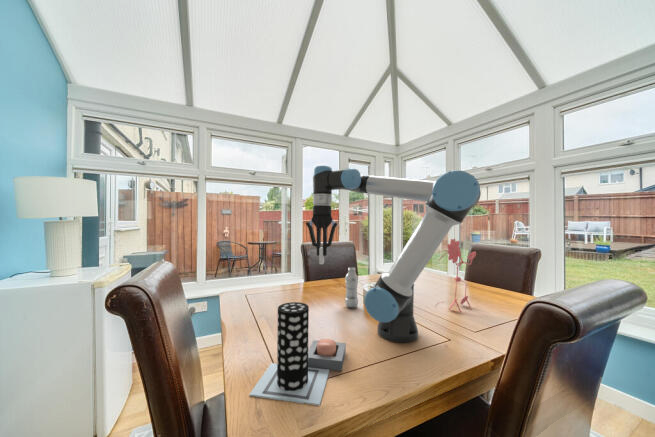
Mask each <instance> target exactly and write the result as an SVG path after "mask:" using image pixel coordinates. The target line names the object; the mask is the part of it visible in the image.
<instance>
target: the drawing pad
mask: <svg viewBox="0 0 655 437" xmlns="http://www.w3.org/2000/svg"><path fill="white" fill-rule="evenodd" d="M330 371H331V370H328V369H319V368H310V367H308V383H307V384H306V386H304V387H303V388H301V389H299V390H296V391H286V390H283V389H281V388H280V387H279V386H278V384H277V363H275V362H271V363H270V364H269V366H268V367H267V369H266V370H265V371H264V372H263V374H262V376H261V377H260V379H259V380H258V381H257V382H256V384H255V386H254V387H253V388H252V390H251V391H250V393H249V397H255V398H263V399H267V400H268V399H269V400H270V399H271V400H276V401H282V400H283V402H290V401H291V402H290V403H299V404H304V403H306V404H305V405H311V404H314V405H313V406H318V405H321V403H322V399H323V395H324V392H325V388H326V386H327V381H328V378H329V374H330Z"/></svg>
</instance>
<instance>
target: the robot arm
mask: <svg viewBox="0 0 655 437" xmlns="http://www.w3.org/2000/svg"><path fill="white" fill-rule="evenodd" d="M312 174H313V175H312V189H313V190H312V191H313V192H312V204H313V206H312V217H311V219H310V220H309V221H307V222H306V223H305V225H306V226H307V228H308V232H309V237H310V241H311V245H312V246H313V247H315V248H316V256H318V257H319V258H318V264H319V265H324V264H325V256H327V255H328V252H327V251H328V250H327V249H328V248H329V247H331V246H332V243H333V239H334V235H335V231H336V229H337V227H338V225H339V223H338V222H336V221H334V220H333V216H332V206H331V205H332V198H333V197H332V195H333V194H332V193H333V191H335V190H336V191H337V190H345V191H350V192H355V193H358V194H369V195H374V196H375V195H376V196H384V197H390V198H391V197H392V198H398V199H404V200H405V199H406V200H411V201H420V202H425V204H424V207H425V209H426V212H425V213H424V215H423V216H422V218H421V220H420V222H419V223H418V225H417V226H416V227H415V230H414V231H413V232H412V234H411V236H410V237H409V239H408V241H407V242H406V244H405V245H404V246H403V249H402V250H401V252H400V253H399V255H398V256H397V258H396V259H395V261H394V262H393V265H392V266H391V267H390V269H389V271H386V272H385V271H384V272H382V273H381V275H380V276H379V277H378V279H377V281H376V282H375V284H374V286H372V287H371V288H369V289H368V290H367V292H366V293H365V295H364V300H363V301H364V306H365V311H366V312H367V314H368V315H369V316H370V317H371V318H372V319H374V320H375V321H377V322H378V324H377V334H378V335H379V336H380V337H381V338H383V339H385V340H388V341H391V342H395V343H403V344H404V343H412V342H415V341H416V340H417V339H418V338H419V329H418V327H417V322H416V320H415V317H414V298H415V296H414V295H415V294H414V289H415V287H414V286H415V282H416V281H417V280H418V278H419V276H420V275H421V274H422V272H423V270H424V269H425V268H426V266H427V264H428V263H429V262H430V260H431V258H432V257H433V256H434V255H435V254H436V251H437V250H438V248H439V247H440V245H441V244H442V242H443V241H444V239H445V238H446V237H447V235H448V233H449V232H450V230H451V229H452V227H453V226H456V225H461V224H462V222H463V221H464V219H465V218H466V217H467V216H468V214H469V213H470V211H471V210H472V209H473V208H475V206H476V205H477V204H478V203H479V201H480V199H481V194H482V193H481V192H482V191H481V187H480V183H479V181H478V179H477V178H476V177H475V175H472V174H471V173H469V172H467V171H464V170H459V169H458V170H456V169H455V170H449V171H447V172H444V173H442V174H441V175H440V176H439V177H438V178H436V180H435V181H433V180H423V179H412V178H411V179H410V178H399V177H390V176H380V175H379V176H378V175H371V174H370V175H369V174H361V172H360V171H359V169H358V168H350V167H349V168H348V167H347V168H344V169H336V170H333V168H332V167H331V166H330V165H317V166H314V168H313V173H312ZM313 225H314V226H315V227H316V236H315V232H314V227H313ZM330 225H331V229H330V233H329V237H328V227H329V226H330ZM321 234H322V235H321ZM321 239H322V240H321ZM321 241H322V242H321Z"/></svg>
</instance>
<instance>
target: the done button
mask: <svg viewBox="0 0 655 437" xmlns="http://www.w3.org/2000/svg"><path fill="white" fill-rule="evenodd" d="M336 342H337V341H335V340H333V339H330V338H323V339H320V340H319V341H318V342H317V355H324V356H333V357H336Z"/></svg>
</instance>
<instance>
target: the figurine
mask: <svg viewBox="0 0 655 437" xmlns="http://www.w3.org/2000/svg"><path fill="white" fill-rule="evenodd" d="M460 244H461V243H460V241H459V240H456V238H451V239H450V243H447V245H446V247H447V251H446V252H445V253H444V254H442V256H441V257H440V258H439V259H438V261H440V260H442V258H443V257H445V255H447V254H448V257H447V259H448V261H450V260H451V261H452V264H455V265H456V276H455V278H454V281H455V293H454V300H453V302H452V303H451V305H450V307H449V308H448V310H451V309H452V308H453V306H454V305H455V304H456V307H457V308H458V310H459V313H460V312H461V313H462V310H461V309H460V306H459V304H460V305H461V306H462V305H463V304H464V303H467V305H468V307H469V309H470V308H471V309H472V307H471V304H470V302H469V301H468V299H469V296H468V295H467V285H468V284H467V282H466V281H463V280H462V278H461V277H460V276H458V274H459V273H458V272H459V267H460V266H461V265H462V264H466V265H469V266H471V265H472V263H473V260H474V259H475V258H476V256H477V252H476V250H475V251H472V252H470V253H469V254H468V256H467V259H468V261H470V262H469V263H468V262H465V261H463V260H464V259H463V258H462V252H461V247H460ZM459 259H460V260H461V261H460V262H458V260H459ZM459 282H462V283H464V284H465V294H464V297H463V298H462V299H461V300H460V303H459V304H458V301H457V300H458V298H456V297H457V289H458V288H457V286H458V285H457V283H459ZM441 303H443V301H441V302H439V304H441ZM437 305H438V303H436V304H435V306H437ZM477 307H480V306H479V305H477Z"/></svg>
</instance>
